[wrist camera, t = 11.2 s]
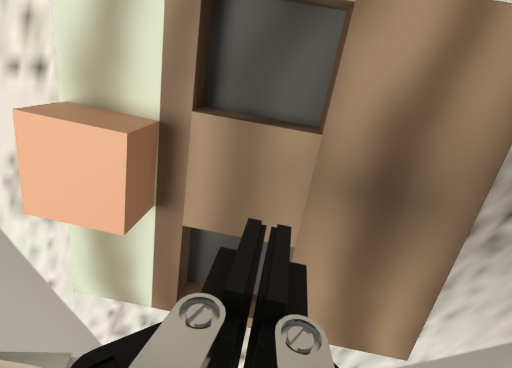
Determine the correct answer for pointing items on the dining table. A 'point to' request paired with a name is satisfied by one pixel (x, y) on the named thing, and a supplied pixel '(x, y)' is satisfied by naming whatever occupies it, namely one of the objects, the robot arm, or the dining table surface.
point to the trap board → (299, 144)
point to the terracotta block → (86, 165)
